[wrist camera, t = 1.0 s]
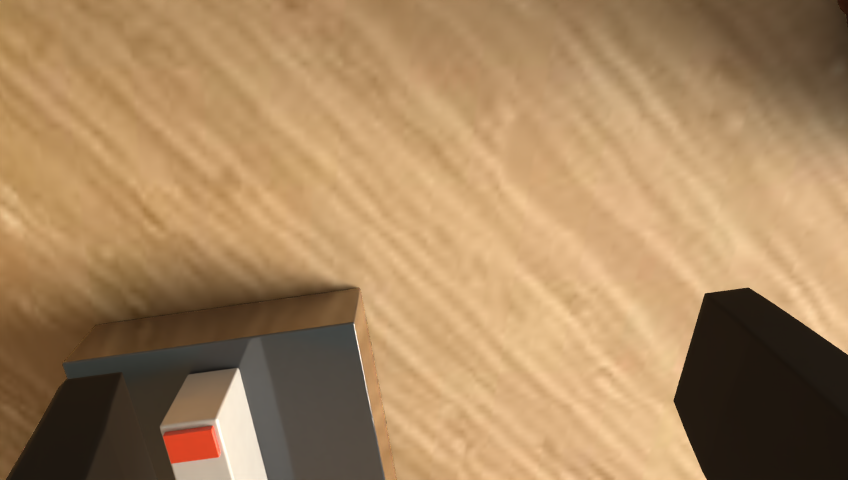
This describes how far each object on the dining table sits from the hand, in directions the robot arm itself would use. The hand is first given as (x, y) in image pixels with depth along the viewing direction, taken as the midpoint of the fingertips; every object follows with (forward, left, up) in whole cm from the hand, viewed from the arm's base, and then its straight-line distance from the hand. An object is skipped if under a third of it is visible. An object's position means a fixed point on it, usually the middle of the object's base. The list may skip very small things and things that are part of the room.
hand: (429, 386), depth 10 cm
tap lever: (-12, +5, -15) cm, 20 cm away
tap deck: (-14, +5, -18) cm, 23 cm away
